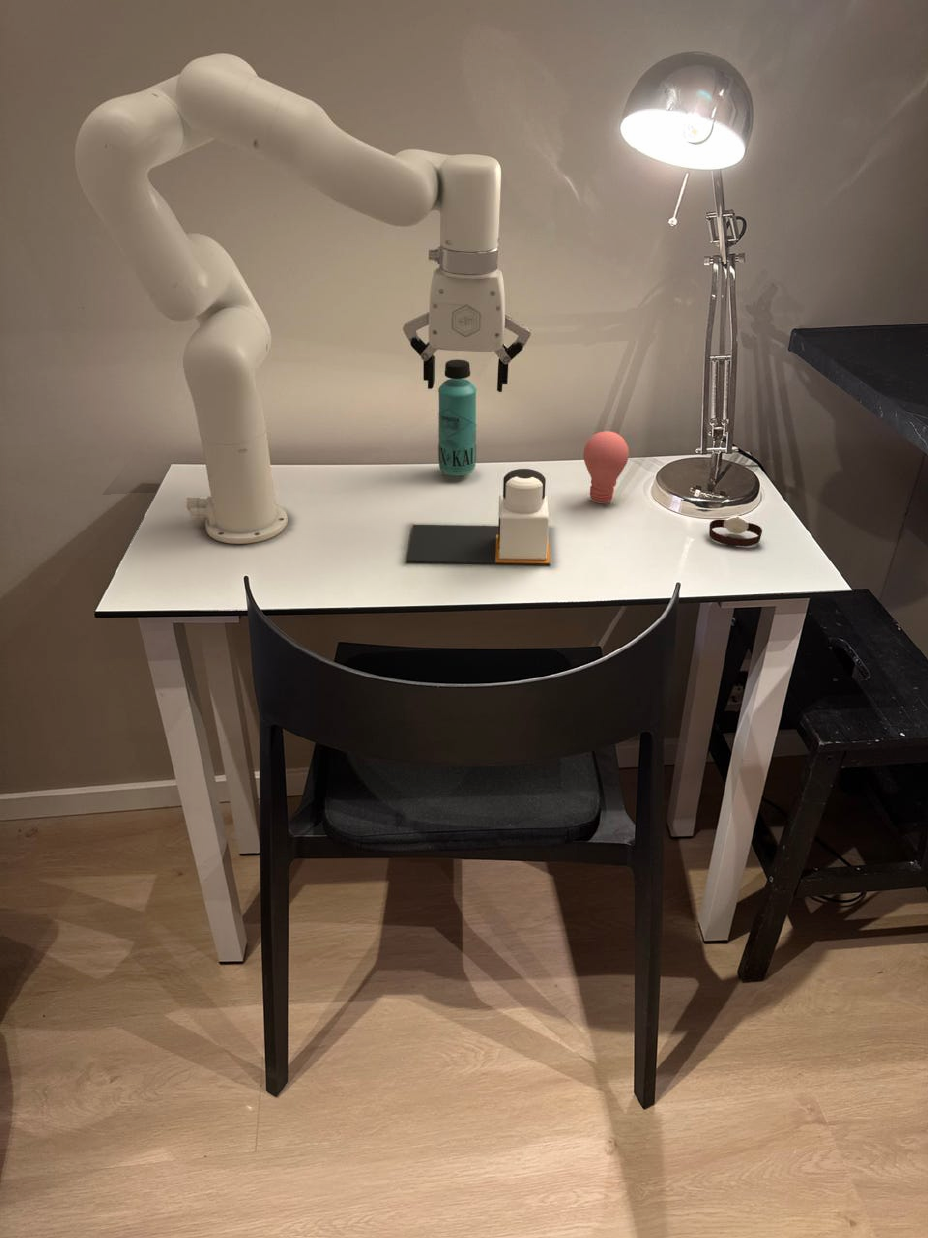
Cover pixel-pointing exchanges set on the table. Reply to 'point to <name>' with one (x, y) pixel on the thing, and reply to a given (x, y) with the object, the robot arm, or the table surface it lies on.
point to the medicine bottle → (523, 516)
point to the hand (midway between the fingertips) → (465, 386)
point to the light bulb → (605, 463)
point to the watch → (735, 531)
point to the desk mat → (460, 546)
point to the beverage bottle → (457, 420)
